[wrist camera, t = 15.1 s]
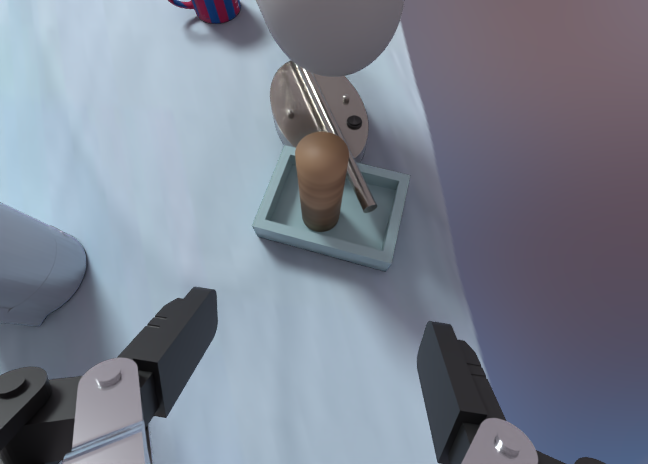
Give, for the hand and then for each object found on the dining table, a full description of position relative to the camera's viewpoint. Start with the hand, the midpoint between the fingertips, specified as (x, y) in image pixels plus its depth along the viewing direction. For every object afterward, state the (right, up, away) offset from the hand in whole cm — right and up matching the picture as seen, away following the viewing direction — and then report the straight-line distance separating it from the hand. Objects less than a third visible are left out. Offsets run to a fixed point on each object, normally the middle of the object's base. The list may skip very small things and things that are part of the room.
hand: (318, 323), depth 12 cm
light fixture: (-1, +19, +28) cm, 34 cm away
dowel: (0, +5, +22) cm, 22 cm away
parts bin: (+1, +6, +23) cm, 23 cm away
